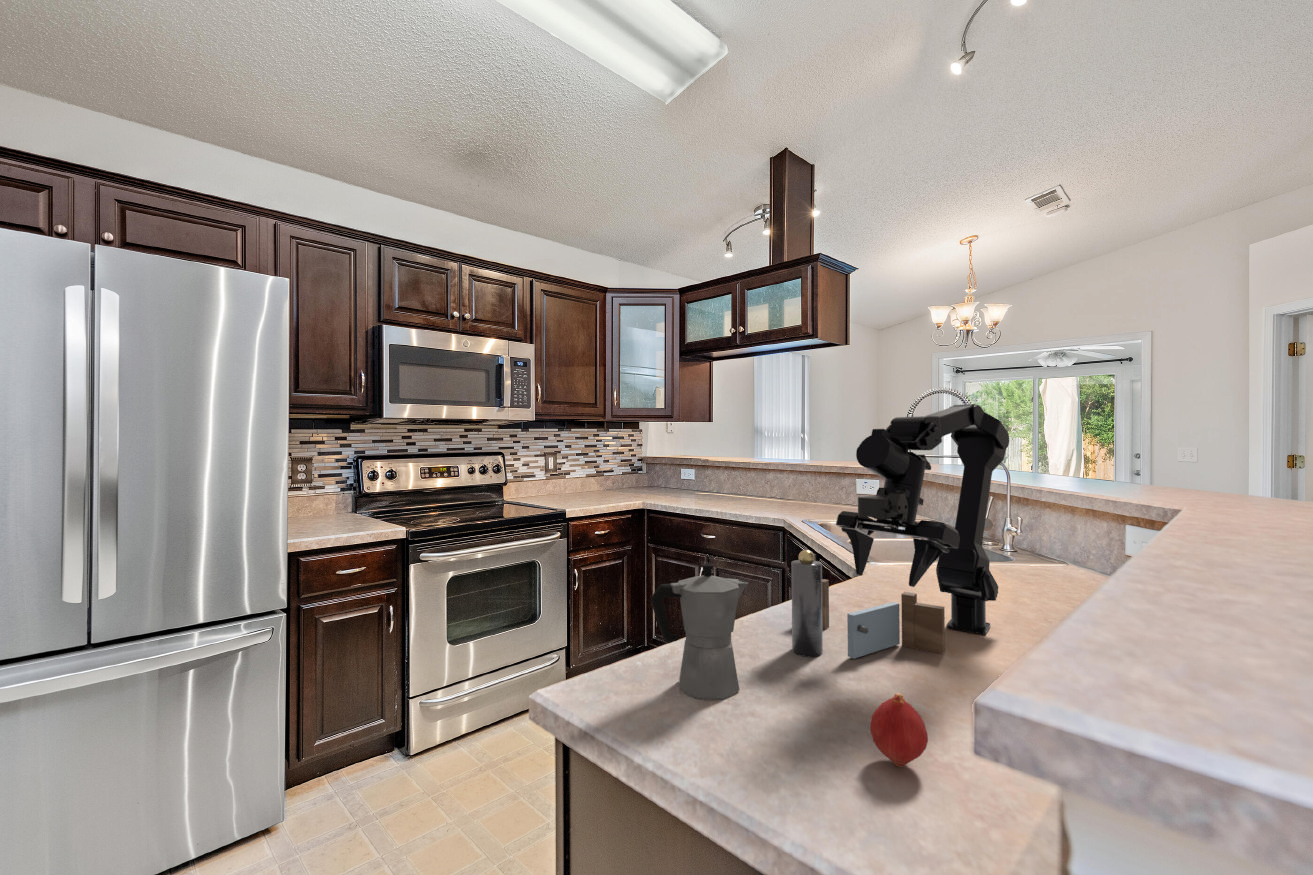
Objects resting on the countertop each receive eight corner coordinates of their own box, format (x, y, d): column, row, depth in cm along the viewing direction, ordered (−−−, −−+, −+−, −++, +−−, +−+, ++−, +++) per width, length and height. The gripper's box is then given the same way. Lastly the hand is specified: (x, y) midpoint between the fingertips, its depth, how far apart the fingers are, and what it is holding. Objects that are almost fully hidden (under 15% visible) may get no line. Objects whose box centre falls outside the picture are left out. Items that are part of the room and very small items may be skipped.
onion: (861, 751, 65) (860, 682, 65) (909, 748, 65) (908, 679, 65) (886, 782, 59) (885, 706, 59) (938, 778, 60) (937, 703, 60)
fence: (803, 621, 111) (803, 576, 111) (945, 650, 95) (944, 597, 95) (799, 624, 109) (799, 578, 109) (942, 654, 94) (942, 600, 94)
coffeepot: (733, 667, 89) (732, 553, 89) (765, 692, 80) (763, 566, 80) (641, 682, 84) (640, 561, 84) (663, 711, 75) (662, 576, 75)
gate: (893, 641, 99) (893, 601, 99) (907, 646, 97) (906, 605, 97) (847, 656, 92) (847, 613, 92) (861, 661, 90) (860, 617, 90)
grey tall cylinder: (799, 643, 99) (798, 545, 99) (827, 649, 96) (826, 549, 96) (787, 652, 95) (786, 550, 95) (815, 659, 92) (814, 554, 92)
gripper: (827, 470, 97) (806, 559, 94) (933, 475, 82) (914, 581, 79) (863, 489, 103) (845, 573, 100) (968, 497, 88) (951, 597, 85)
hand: (884, 580), depth 90 cm, fingers open, 9 cm apart
